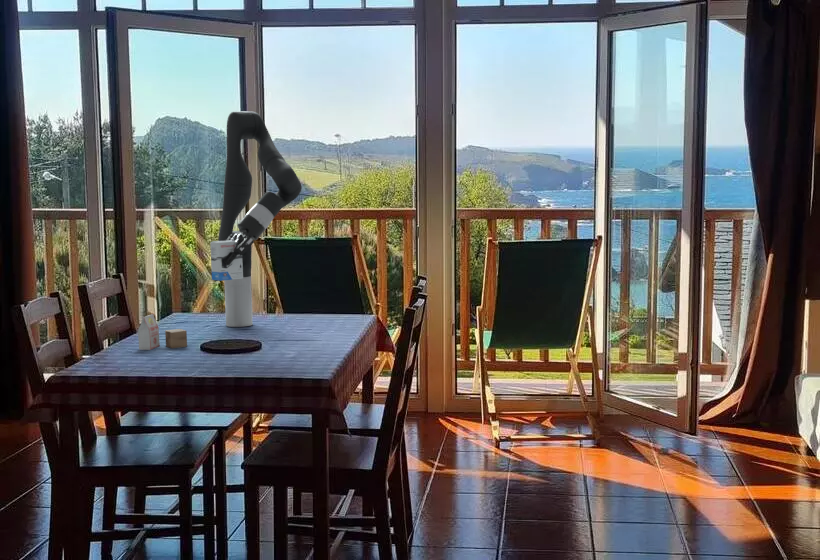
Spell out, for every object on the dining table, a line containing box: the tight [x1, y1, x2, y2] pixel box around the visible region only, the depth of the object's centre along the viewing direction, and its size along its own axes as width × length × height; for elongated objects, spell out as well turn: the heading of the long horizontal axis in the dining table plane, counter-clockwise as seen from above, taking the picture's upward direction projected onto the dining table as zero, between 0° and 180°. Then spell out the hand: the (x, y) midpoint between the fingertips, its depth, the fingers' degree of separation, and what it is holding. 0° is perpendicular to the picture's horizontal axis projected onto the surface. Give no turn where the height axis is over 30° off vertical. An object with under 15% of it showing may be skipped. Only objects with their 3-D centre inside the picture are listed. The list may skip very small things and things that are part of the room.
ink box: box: [209, 240, 243, 282], centre depth 294 cm, size 8×5×12 cm, turn 131°
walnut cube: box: [164, 328, 188, 349], centre depth 298 cm, size 5×5×5 cm
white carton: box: [137, 313, 161, 351], centre depth 296 cm, size 4×7×10 cm, turn 171°
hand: (221, 262), depth 293 cm, fingers closed on ink box, 5 cm apart
